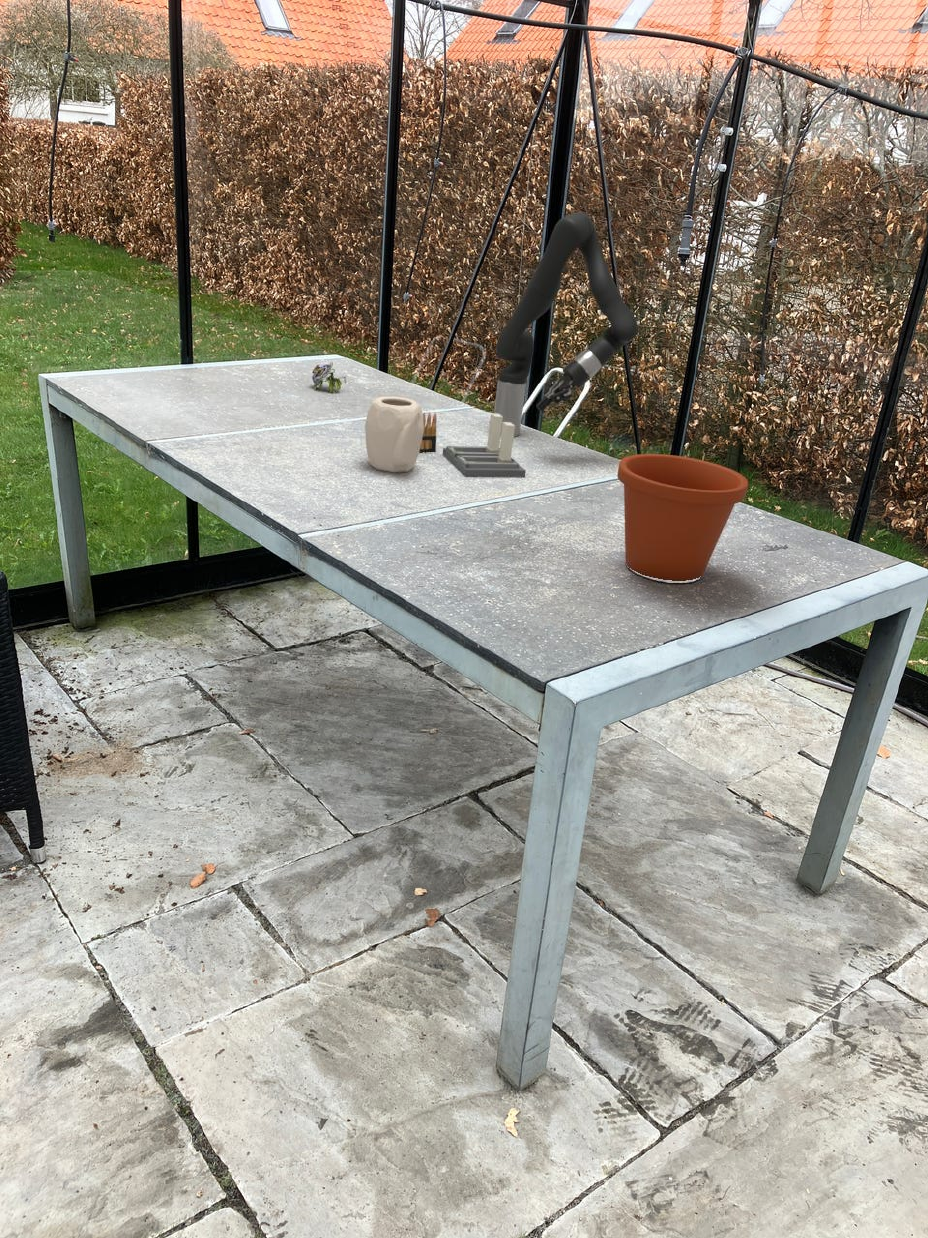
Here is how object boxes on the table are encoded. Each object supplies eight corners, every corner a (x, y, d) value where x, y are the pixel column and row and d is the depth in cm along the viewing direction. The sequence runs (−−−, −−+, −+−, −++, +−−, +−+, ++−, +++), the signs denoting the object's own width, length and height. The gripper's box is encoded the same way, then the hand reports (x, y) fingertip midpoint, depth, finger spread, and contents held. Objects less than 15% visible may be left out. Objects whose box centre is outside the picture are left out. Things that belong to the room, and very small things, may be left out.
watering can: (388, 484, 258) (393, 414, 250) (349, 456, 279) (353, 390, 271) (440, 481, 265) (446, 413, 258) (398, 454, 286) (403, 390, 278)
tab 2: (496, 460, 282) (501, 421, 277) (506, 461, 283) (511, 422, 278) (501, 465, 279) (506, 425, 274) (511, 465, 280) (516, 425, 275)
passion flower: (315, 404, 355) (303, 373, 355) (341, 397, 360) (329, 367, 360) (326, 392, 345) (313, 361, 345) (352, 386, 351) (340, 355, 350)
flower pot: (577, 561, 221) (593, 462, 212) (648, 539, 240) (666, 448, 230) (680, 605, 204) (703, 499, 194) (748, 578, 223) (772, 481, 213)
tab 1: (485, 451, 291) (489, 413, 286) (494, 451, 292) (499, 413, 287) (489, 455, 287) (494, 416, 282) (499, 455, 288) (504, 416, 283)
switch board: (442, 454, 291) (443, 443, 290) (498, 455, 297) (499, 444, 295) (465, 476, 272) (466, 464, 271) (524, 477, 278) (526, 465, 277)
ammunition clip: (403, 453, 287) (406, 413, 282) (400, 451, 289) (403, 411, 284) (435, 452, 292) (439, 413, 287) (433, 450, 294) (436, 411, 289)
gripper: (566, 354, 290) (523, 394, 291) (585, 363, 279) (540, 404, 280) (579, 373, 294) (537, 412, 295) (598, 382, 283) (554, 423, 284)
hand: (538, 408), depth 288 cm, fingers closed
